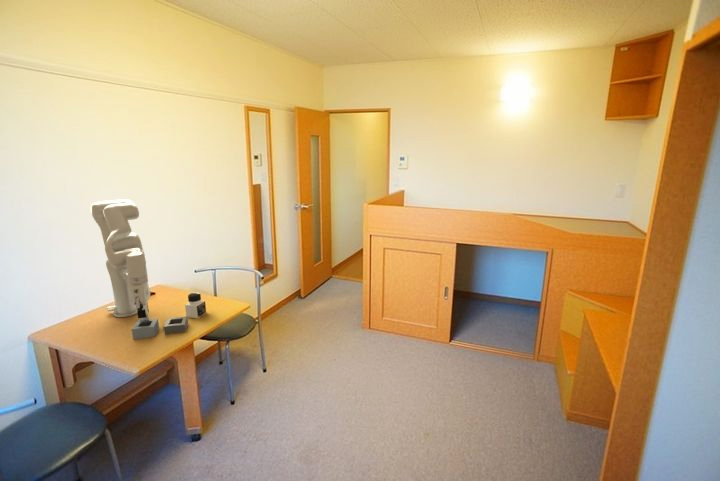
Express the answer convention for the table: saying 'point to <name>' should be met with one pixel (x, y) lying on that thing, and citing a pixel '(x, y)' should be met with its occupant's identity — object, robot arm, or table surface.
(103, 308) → the table surface
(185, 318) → the grey square ring
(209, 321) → the table surface
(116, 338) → the table surface
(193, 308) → the medicine bottle
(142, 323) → the steel rod
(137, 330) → the socket block
